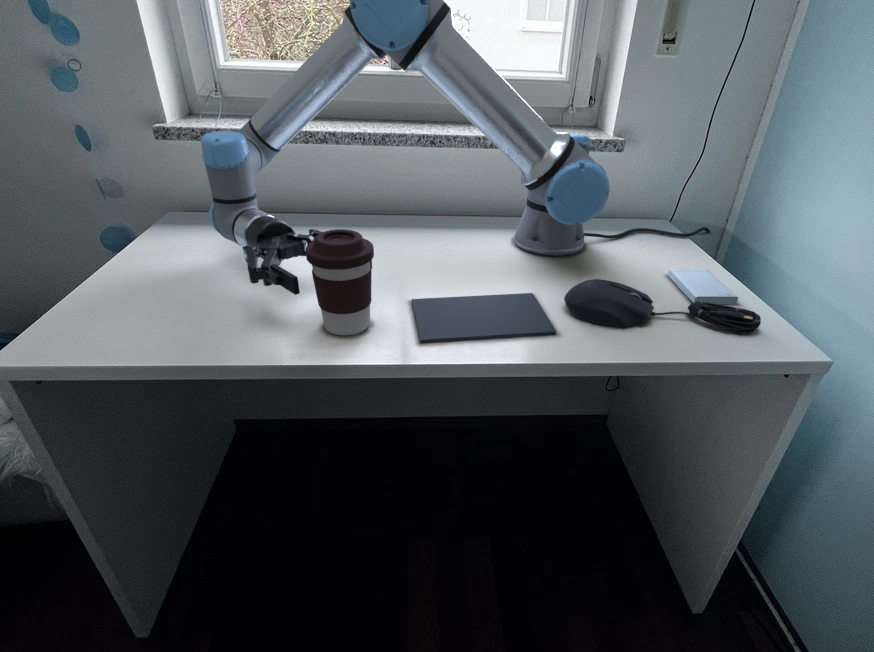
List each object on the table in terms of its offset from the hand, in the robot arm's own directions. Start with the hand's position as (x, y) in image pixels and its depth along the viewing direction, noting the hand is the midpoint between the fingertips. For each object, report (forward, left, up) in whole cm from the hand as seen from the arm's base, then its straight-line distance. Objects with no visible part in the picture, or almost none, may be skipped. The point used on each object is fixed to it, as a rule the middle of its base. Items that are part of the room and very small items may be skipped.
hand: (335, 273), depth 85 cm
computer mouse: (-53, +6, -9) cm, 54 cm away
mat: (-23, +2, -8) cm, 25 cm away
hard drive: (-67, -4, -9) cm, 68 cm away
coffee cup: (-1, +2, -9) cm, 9 cm away
